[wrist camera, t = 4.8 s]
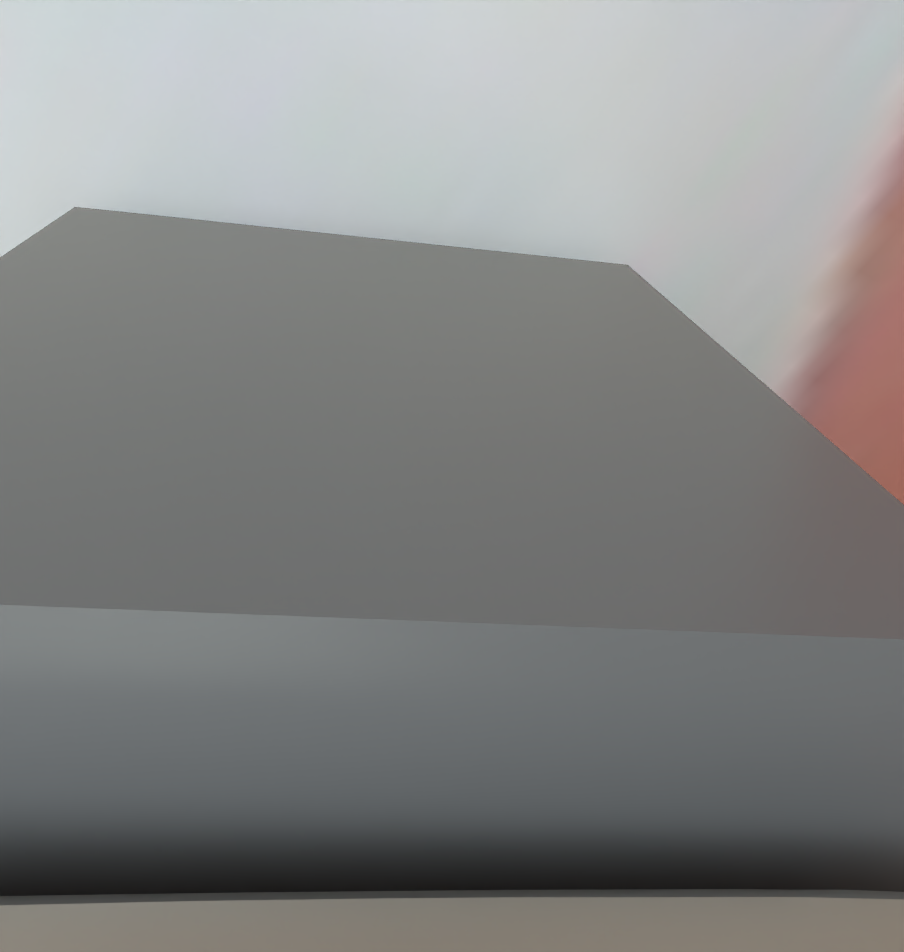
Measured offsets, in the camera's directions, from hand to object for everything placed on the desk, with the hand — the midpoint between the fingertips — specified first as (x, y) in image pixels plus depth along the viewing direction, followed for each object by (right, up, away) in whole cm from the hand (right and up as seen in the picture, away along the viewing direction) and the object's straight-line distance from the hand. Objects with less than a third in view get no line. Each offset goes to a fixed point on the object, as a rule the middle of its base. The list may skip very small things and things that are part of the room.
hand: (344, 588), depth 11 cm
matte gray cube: (0, +1, +3) cm, 3 cm away
